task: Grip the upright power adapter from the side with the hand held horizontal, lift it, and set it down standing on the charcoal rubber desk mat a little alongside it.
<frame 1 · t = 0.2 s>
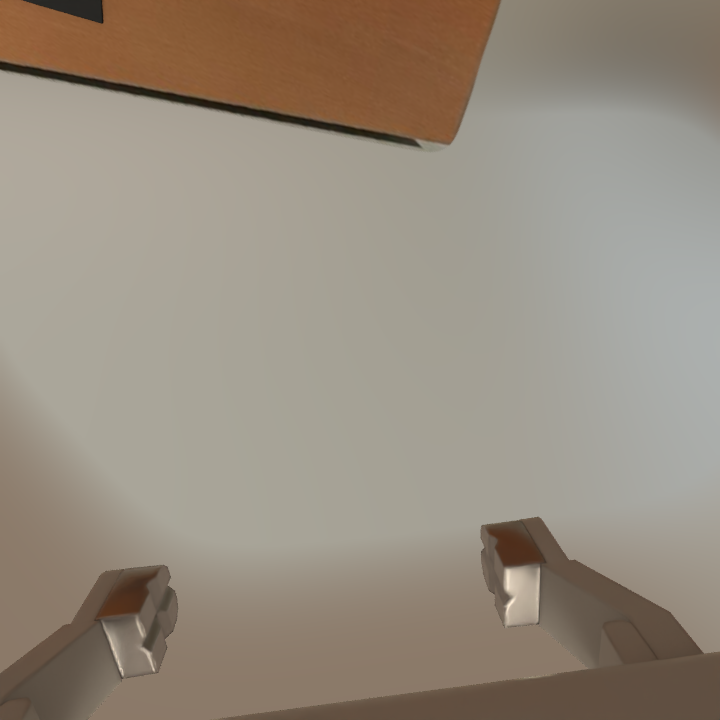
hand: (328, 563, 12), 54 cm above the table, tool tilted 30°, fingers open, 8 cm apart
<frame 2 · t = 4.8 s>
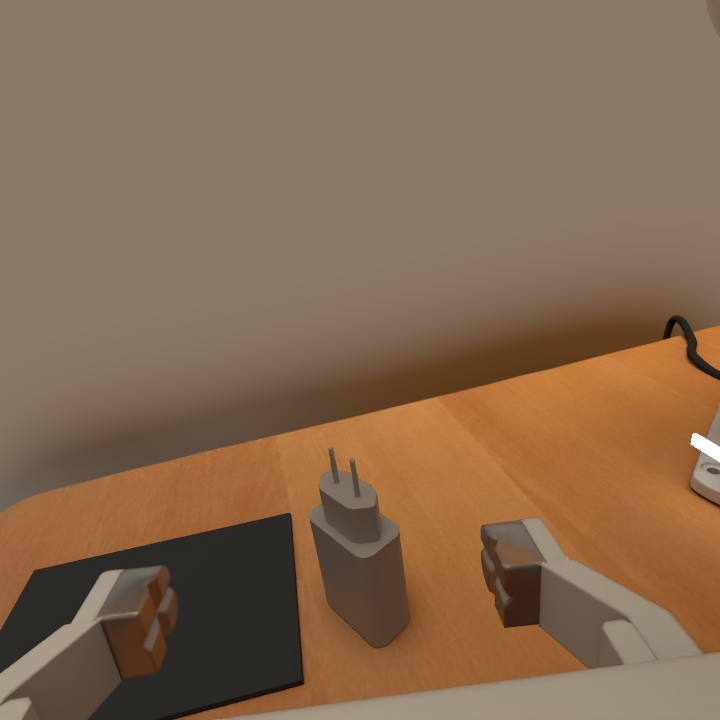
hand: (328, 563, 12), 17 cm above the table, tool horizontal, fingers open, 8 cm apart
power adapter: (367, 610, 31), on the table
desk mat: (148, 620, 32), on the table
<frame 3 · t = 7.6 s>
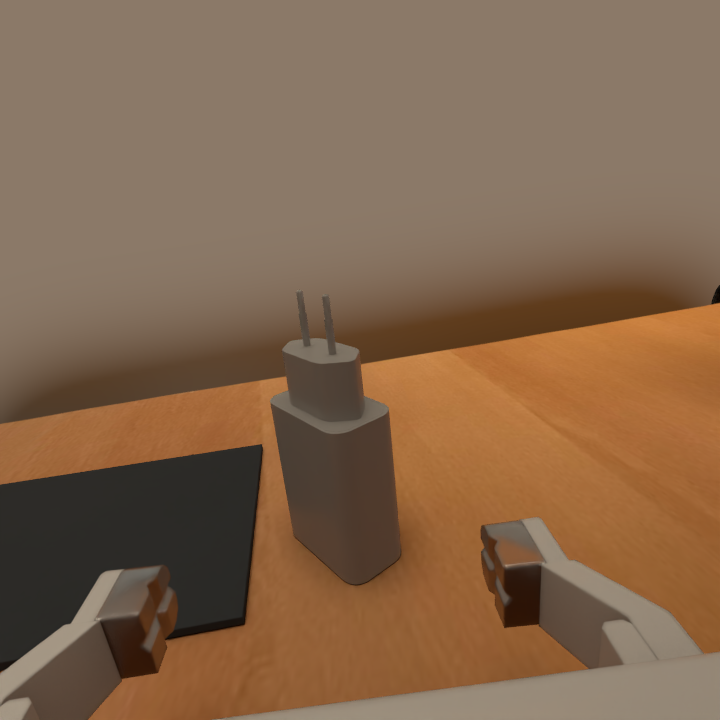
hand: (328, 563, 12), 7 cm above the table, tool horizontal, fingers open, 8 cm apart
power adapter: (345, 543, 23), on the table
desk mat: (58, 547, 24), on the table
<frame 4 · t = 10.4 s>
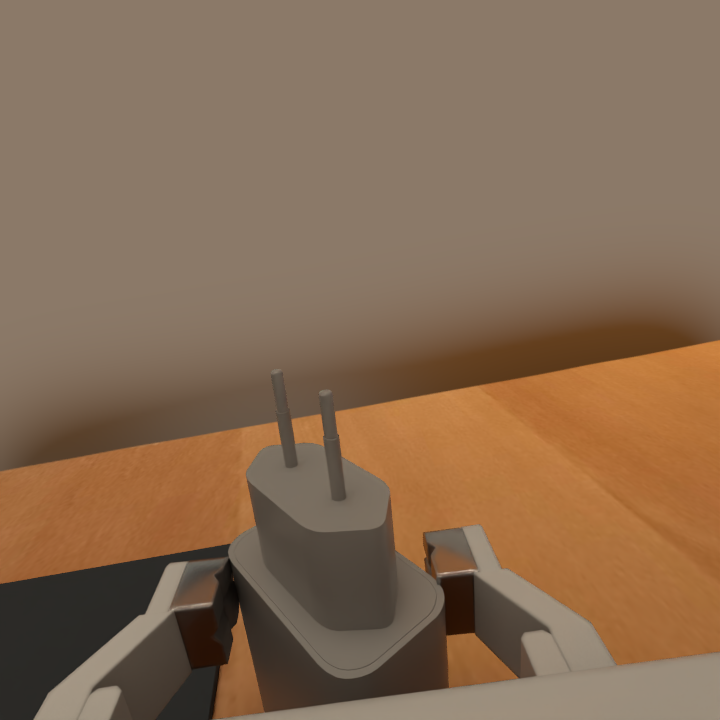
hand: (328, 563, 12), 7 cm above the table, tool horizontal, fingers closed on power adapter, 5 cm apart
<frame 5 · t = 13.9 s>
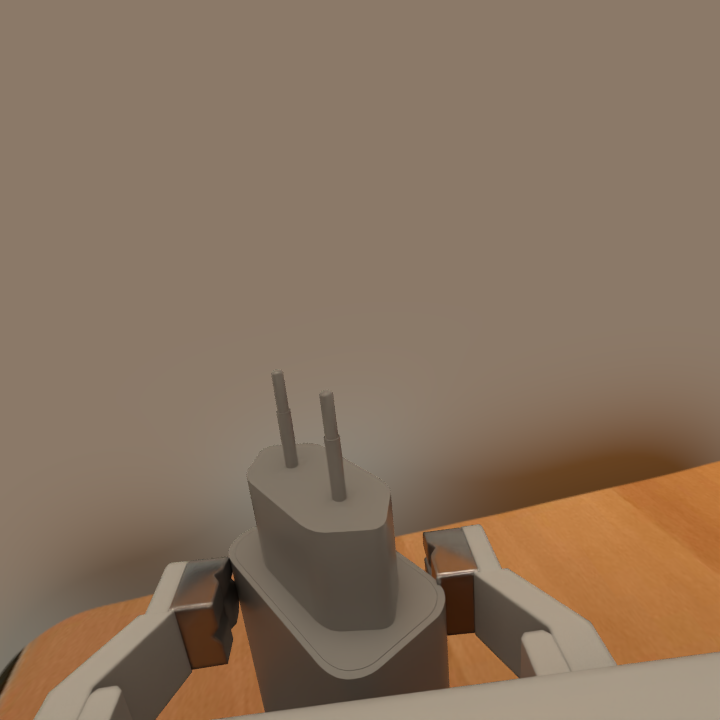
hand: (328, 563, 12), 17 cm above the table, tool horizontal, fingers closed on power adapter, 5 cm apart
when the fingers open (7 cm above the table, at t = 17.6 s): power adapter stays where it is, resting on desk mat.
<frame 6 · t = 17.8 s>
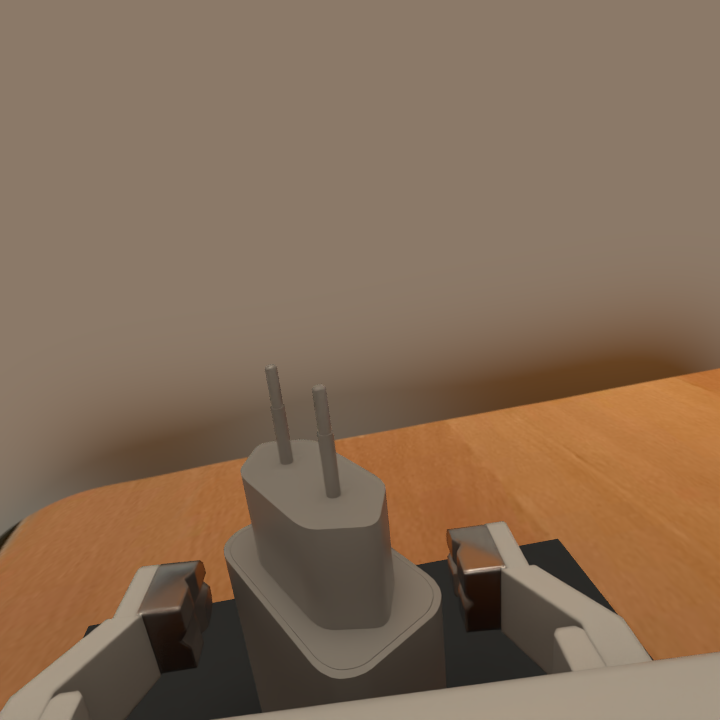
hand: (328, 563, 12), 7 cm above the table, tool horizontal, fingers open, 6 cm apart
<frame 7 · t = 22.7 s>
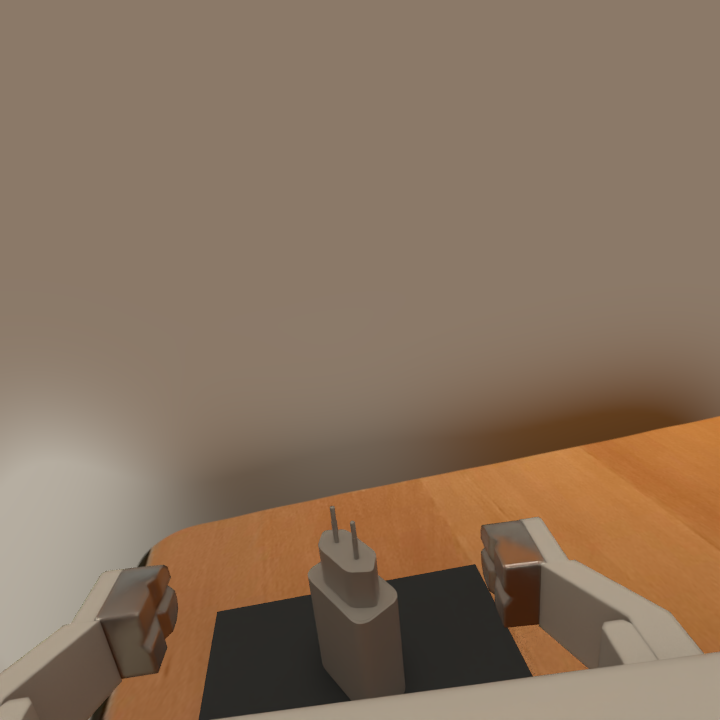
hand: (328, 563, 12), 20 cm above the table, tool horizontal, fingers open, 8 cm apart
power adapter: (362, 675, 30), resting on desk mat
desk mat: (363, 676, 30), on the table
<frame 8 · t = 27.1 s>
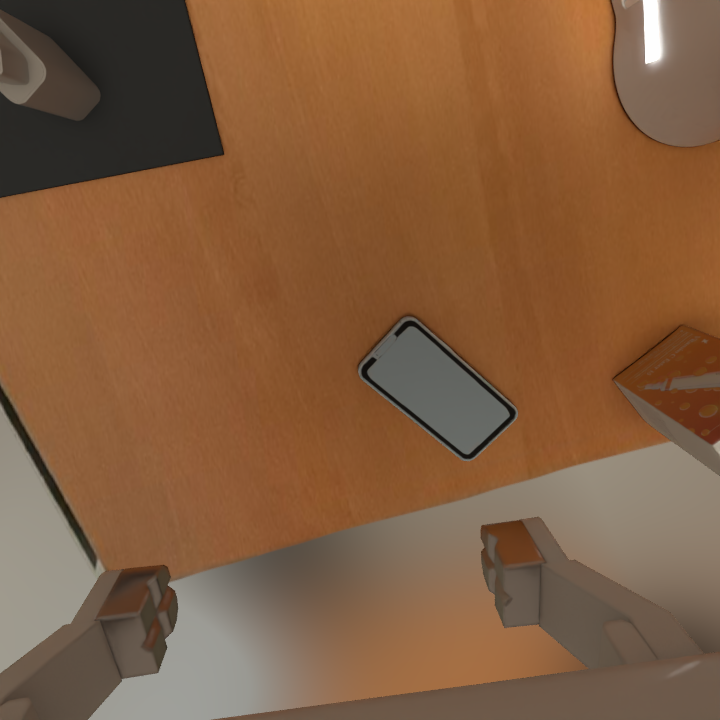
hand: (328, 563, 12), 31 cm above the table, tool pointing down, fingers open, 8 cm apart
power adapter: (62, 79, 35), resting on desk mat
smartphone: (438, 389, 45), on the table
desk mat: (63, 78, 35), on the table
small box: (660, 373, 46), on the table
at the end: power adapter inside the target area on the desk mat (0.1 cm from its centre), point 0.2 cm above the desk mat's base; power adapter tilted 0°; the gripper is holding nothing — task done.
